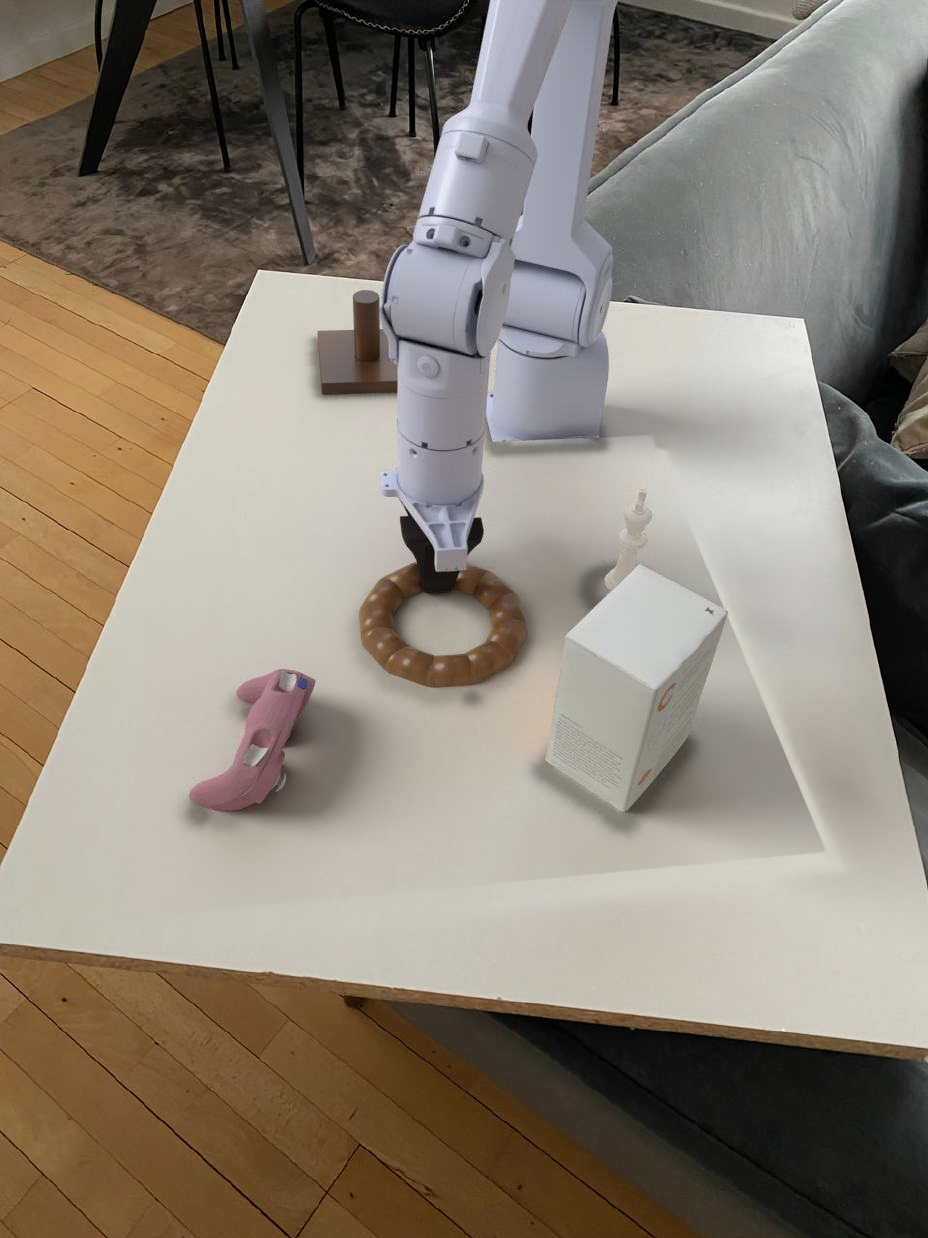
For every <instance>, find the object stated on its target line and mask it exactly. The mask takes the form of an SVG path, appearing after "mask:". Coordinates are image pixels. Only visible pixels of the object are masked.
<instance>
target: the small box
mask: <svg viewBox="0 0 928 1238" xmlns="http://www.w3.org/2000/svg"><path fill="white" fill-rule="evenodd" d="M728 615H729V611H728V610H727V609H725V608H723V607H721V606H720V605H718V604H716V603H714V602H712V601H711V600H709V599H707V598H705V597H703V596H702V595H700V594H698V593H696V592H694V591H693V590H690V589H689V588H686V587H685V586H683V585H682V584H679V583H677V582H676V581H673V580H672V579H670V578H667V577H666V576H664V575H662V574H660V573H658V572H657V571H654V570H652V569H650V568H648V567H646V566H645V565H643V564H641V563H638V564H636V567H635V568H634V569H633V570H632V571H630V572H629V573H628V574H627V575H626V576H625V577H624V578H623V579H622V580H621V581H620V582H619V583H618V584H617V585H616V586H615V587H614V588H613V589H612V590H611V591H610V590H609V592H608V593H607V594H606V595H604V596H603V598H601V599H600V600H599V602H598V603H597V604H595V605H594V606H592V608H591V609H590V610H589V612H587V613H586V614H585V615H584V616H583V617H582V618H581V619H580V620H578V622H577V623H575V625H574V626H572V628H571V629H570V630H569V631H568V632H567V633H565V635H564V642H563V648H562V653H561V661H560V665H559V666H560V667H559V672H558V679H557V685H556V691H555V698H554V703H553V710H552V715H551V721H550V729H549V734H548V740H547V745H546V750H545V751H546V753H545V758H544V760H545V762H546V763H548V764H549V765H551V766H553V767H554V768H555V769H557V770H558V771H560V772H561V773H563V774H564V775H566V776H567V777H569V778H570V779H572V780H574V781H575V782H577V783H578V784H580V785H581V786H583V787H584V788H585V789H587V790H589V791H590V792H592V793H593V794H595V795H596V796H598V797H599V798H600V799H602V800H603V801H605V802H606V803H608V804H609V805H611V806H613V807H614V808H616V809H617V810H619V811H620V812H622V813H626V812H627V811H629V809H630V808H631V807H632V806H633V805H634V804H635V803H636V801H638V799H639V798H640V797H641V796H642V795H643V793H645V791H646V790H647V789H648V787H650V785H651V784H652V783H653V782H654V780H655V779H656V778H657V777H658V775H659V774H660V773H661V772H662V770H663V769H664V768H666V766H667V765H668V763H669V762H670V761H671V760H672V758H673V757H674V756H675V755H676V753H677V752H678V751H679V750H680V748H681V747H682V745H684V743H685V742H686V740H687V739H688V737H689V735H690V731H691V728H692V725H693V722H694V718H695V715H696V712H697V708H698V706H699V702H700V700H701V696H702V694H703V692H704V691H703V690H704V688H705V685H706V682H707V679H708V676H709V672H710V670H711V667H712V665H713V661H714V659H715V654H716V651H717V648H718V645H719V643H720V639H721V637H722V633H723V631H724V627H725V623H726V621H727V619H728Z"/></svg>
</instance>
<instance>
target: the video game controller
mask: <svg viewBox="0 0 928 1238" xmlns="http://www.w3.org/2000/svg"><path fill="white" fill-rule="evenodd" d="M315 685H316V679H315V678H313V677H311V676H309V675H307V674H304V673H302V672H300V671H297V670H293V669H287V668H278V669H275V670H274V671H272V672H270V673H268V674H265V675H261V676H258V677H254V678H252V679H251V678H250V679H249V680H246V681H244V682H243V683H241V685H239V686H238V688H237V690H236V696H237V698H238V699H239V700H242V701H243V702H246V703H249V704H253V705H252V706H251V708H250V710H249V712H248V714H247V717H246V721H245V727H244V734H243V737H242V739H241V741H240V744H239V745H238V747H237V750H236V753H235V756H234V759H233V761H232V764H231V765H230V767H229V769H227V770H226V771H224V772H223V773H220V774H219V775H217V776H214V777H212V778H209V779H206V780H203V781H201V782H199V783H197V784H196V785H194V786H193V788H191V789H190V791H189V794H188V797H189V800H190V801H191V802H192V803H194V804H195V805H198V806H200V807H202V808H206V809H208V810H213V811H221V812H234V811H235V812H236V811H239V810H242V809H245V808H248V807H250V806H252V805H254V804H259V805H260V804H261V803H263V801H264V800H265V799H266V797H267V796H268V794H269V793H270V791H271V790H273V789H274V788H275V789H274V790H275V791H274V792H275V793H277V792H279V791H281V789H283V788H284V786H285V784H286V782H287V773H286V772H284V773H282V772H281V771H282V766H283V763H284V760H285V758H286V757H285V756H286V752H285V751H284V747H285V746H286V743H287V741H288V739H289V738H290V737H291V732H292V729H293V728H294V725H295V724H296V722H297V721H298V720H299V718H300V717H301V715H302V713H303V712H304V711H305V709H306V707H307V705H308V703H309V701H310V699H311V698H310V697H311V695H312V694H313V691H314V689H315Z"/></svg>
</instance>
